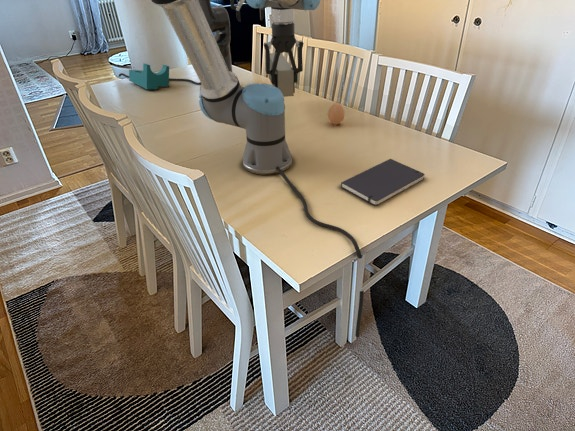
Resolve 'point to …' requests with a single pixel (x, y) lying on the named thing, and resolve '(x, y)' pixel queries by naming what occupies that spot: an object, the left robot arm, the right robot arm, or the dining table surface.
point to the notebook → (382, 181)
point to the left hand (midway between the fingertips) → (250, 20)
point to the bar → (283, 75)
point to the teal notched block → (150, 77)
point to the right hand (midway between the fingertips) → (284, 92)
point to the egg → (336, 113)
